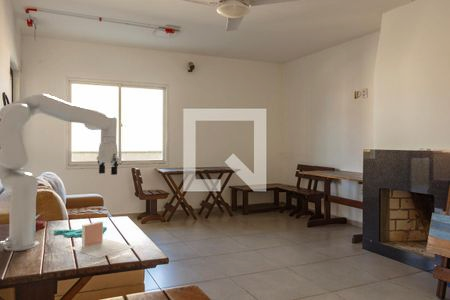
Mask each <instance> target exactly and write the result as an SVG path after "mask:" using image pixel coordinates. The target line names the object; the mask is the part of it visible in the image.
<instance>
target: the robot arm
mask: <svg viewBox="0 0 450 300" xmlns="http://www.w3.org/2000/svg"><path fill="white" fill-rule="evenodd" d="M38 114H43V115H46V116H48V117H52V118H54V119H58V120H61V121H64V122H68V123H77V124H78V123H79V124H83V125H84V127H85V128H87V129H88V130H91V131H99V130H100V143H99V147H98V153H97V154H98V155H97V156H96V160H97V164H98V174H101V175H102V174H105V173H106V165H105V164H109V163H110V165H111V168H110V169H111V170H110V174H111V175H113V176H117V175H118V167H119V164H120V161H121V158H120V156H119V155H118V145H117V131H118V129H117V125H118V119H117V117H116V116H111V115H106V114H104V113H102V112H99V111H97V110H95V109H93V108H89V107H88V108H87V107H85V106H80V105H78V104H73V103H71V102H67V101H65V100H62V99H59V98H57V97H55V96H51V95H50V94H46V93H38V94H37V93H36V94H31V95H28V96H26V97H24V98H21V99H20V100H17V101H16V100H15V101H13V102H10V103H9V104H5V105H4V106H3V107H1V108H0V183H1V185H2V187H3V189H4V190H5V191H7V192H9V193H11V194H10V199H9V231H8V235H9V236H8V237H6V239H4V240H1V241H0V247H4V249H5V250H6V251H9V252H19V251H26V250H27V251H29V249H34V248H36V247H38V246H40V241H38V240H36V220H37V218H36V216H37V215H36V214H37V213H36V212H37V207H36V205H37V195H38V189H39V181H38V178H37V177H36V176H35V175H34V174H33V173H31V172H29V171H28V172H27V171H24V170H23V169H24V168H26V167H27V166H28V164H29V156H28V152H27V148H26V145H25V141H24V135H23V129H24V126H25V125H26V124H27V123H28V122H29V121H30V119H31V117H33V116H35V115H38Z"/></svg>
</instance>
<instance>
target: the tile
mask: <svg viewBox="0 0 450 300" xmlns="http://www.w3.org/2000/svg"><path fill="white" fill-rule="evenodd" d="M103 225H104V221H97V222H92V223H91V222H90V223H88V224H87V223H86V224H82V225H81V229H82V237H81V245H82V247H87V246H91V245H95V244H99V243H103V240H104V239H103V237H104V235H103V234H104V233H103V227H104V226H103Z"/></svg>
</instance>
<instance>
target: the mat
mask: <svg viewBox="0 0 450 300" xmlns="http://www.w3.org/2000/svg"><path fill="white" fill-rule="evenodd" d="M133 248H135V246H134V245H129V244H127V243H122V242H120V241H119V242H118V241H116V240H115V241H114V240H111V239H108V238H104V239H103V243H99V244H95V245H91V246H87V247H82V244H80V245H79V244H78V245H75V246H72V247H69V249H71V250H74V251H77V252H80V253H83V254H86V255H89V256H91V257H94V258H98V259H99V258H102V257H105V256H109V255H113V254H116V253H120V252H122V251H126V250H130V249H133Z"/></svg>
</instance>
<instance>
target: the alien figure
mask: <svg viewBox="0 0 450 300" xmlns="http://www.w3.org/2000/svg"><path fill="white" fill-rule="evenodd" d="M107 229H108V227H106V226H103V234H105V232H106V231H108V230H107ZM53 234H54V235H56V236H57V235H63V238H73V237H74V238H79V237H80V238H82V228H79V229H62V230H61V229H54V230H53Z"/></svg>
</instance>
